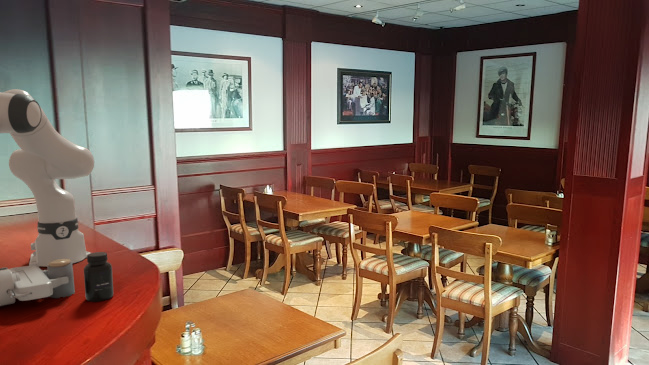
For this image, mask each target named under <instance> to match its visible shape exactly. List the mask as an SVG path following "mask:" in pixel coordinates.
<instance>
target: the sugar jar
mask: <svg viewBox="0 0 649 365" xmlns="http://www.w3.org/2000/svg"><path fill="white" fill-rule="evenodd" d="M73 267H74V266H73V263H72V262H70V259H58V260H54V261H51V262H49V265H48V266H47V268H46V270H48V279H56V278H60V277H61V276H67V277H68V280H69V282H68V283H66V284H62V285H60V286H58V287H55V288H53V294H52V295H51V296H49V298H52V299H61V298H60V297H63V298H67V297H70V296H72V294H73V295H74V294H75V293H76V290H75V279H74V268H73ZM66 296H67V297H66Z"/></svg>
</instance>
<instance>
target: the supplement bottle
mask: <svg viewBox="0 0 649 365" xmlns="http://www.w3.org/2000/svg"><path fill="white" fill-rule="evenodd" d="M86 262H87V264H86V265H85V266H84V268H83V277H84V279H83V280H84V292H85V294H84V295H85V299H86V300H87V301H88V302H93V303H95V302H97V303H98V302H104V301H107V300H109V299H111V298H112V297H113V296H114V281H113V280H114V279H113V265H112V264H111V263H110V262H109V261H108V253H107V252H105V251H97V252H90V254H88V255H87V257H86Z"/></svg>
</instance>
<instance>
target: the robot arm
mask: <svg viewBox="0 0 649 365" xmlns="http://www.w3.org/2000/svg"><path fill="white" fill-rule="evenodd" d="M0 134H9V135H10V136H11V137H12V139H13V140H14V141H15V143H16V145H17V146H18V147H19V148H18V149H16V150H14V151H13V152H12V153H11V154H10V156H9V158H8V167H9V170H10V172H11V173H12V175H13V176H15V177H16V178H17V179H19V180H21V181H22V182H23V183H24V184H25V185H26V186H27V187H28V189H30V191H31V193H32V195H33V198H34V200H35V203H36V204H35V205H36V210H37V217H38V218H37V219H38V221H37V225H36V226H37V227H36V228H37V233H38V235H37V236H36V238H35V240H34V242H31V244H30V250H31V251H33V252H32V253H31V254H30V258H29V259H30V260H29V264H28V265H27V266H17V267H11V268H8V267H7V266H6V267H1V268H0V307H3V306H8V305H11V304H15V302H16V299H17V300H18V301H21V302H24V301H25V302H26V301H31V300H32V301H33V300H38V299H42V298H43V299H45V298H49V297H50V296H51V295H52V294H53V288H55V287H58V286H60V285H62V284H66V283H68V282H69V280H68V277H67V276H61V277H60V278H56V279H48V269H44V270H43V269H41V268H40V267H47V266H48V265H49V262H51V261H54V260H58V259H70V262H72V264H75V263H79V262H81V261H83V260H84V259H87V255H88V254H90V253H91V252H90V251H87V249H86V248H87V247H86V242H85V236H84V233H83V232H81V231H80V230H79V219H78V217H77V214H76V203H75V202H76V200H75V196H73V194H72V193H71V192H70V191H68V190H66V189H63V188H61V186H60V185H58V183H57V181H56V180H73V179H78V178H84V177H87V176H89V175H90V174H91V173H92V172H93V170H94V168H95V159H94V155H93V153H92V152H91V151H90V150H89V149H88V148H86V147H84V146H81V145H78V144H76V143H74V142H72V141H70V140H69V139H67V138H65V136H63V135H61V134H60V133H59V132H58V131H57V130H56V129H55V127H54V125H52V123H51V121H50V120H49V118H48V116H47V115H46V112H45V111H44V110H43V108H42V106H40V103H39V102H38V101H37V100H36V99H35V98H34V97H33V96H32V95H31V94H30V93H29V92H28V91H26V90H23V89H19V88H18V89H17V88H16V89H15V88H12V89H8V90H6V91H0Z"/></svg>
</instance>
